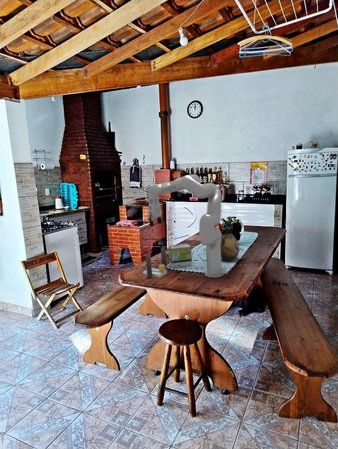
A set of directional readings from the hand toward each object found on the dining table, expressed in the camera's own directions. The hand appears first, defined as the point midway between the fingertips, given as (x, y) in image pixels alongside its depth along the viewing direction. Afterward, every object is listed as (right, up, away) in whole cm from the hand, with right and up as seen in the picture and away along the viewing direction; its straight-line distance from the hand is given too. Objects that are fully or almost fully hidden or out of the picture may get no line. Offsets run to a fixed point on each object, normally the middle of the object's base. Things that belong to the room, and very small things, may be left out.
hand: (155, 224), depth 222 cm
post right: (+6, -32, -2) cm, 33 cm away
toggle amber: (+5, -31, -11) cm, 34 cm away
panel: (0, -34, -10) cm, 35 cm away
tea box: (+18, -30, +5) cm, 35 cm away
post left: (-3, -35, -16) cm, 39 cm away
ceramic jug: (+55, -26, +9) cm, 61 cm away
